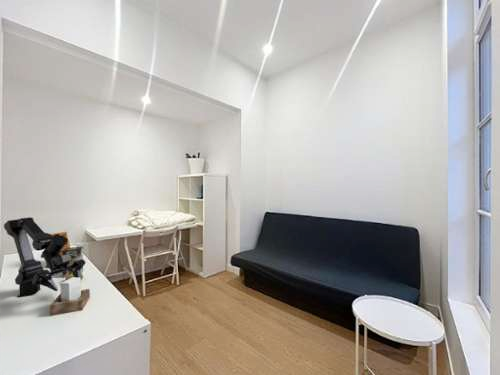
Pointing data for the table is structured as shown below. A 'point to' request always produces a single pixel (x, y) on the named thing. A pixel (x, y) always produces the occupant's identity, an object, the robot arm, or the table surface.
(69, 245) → the coffee package
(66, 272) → the coffee box
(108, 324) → the table surface
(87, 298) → the walnut socket block
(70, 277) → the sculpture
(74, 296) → the skincare box
